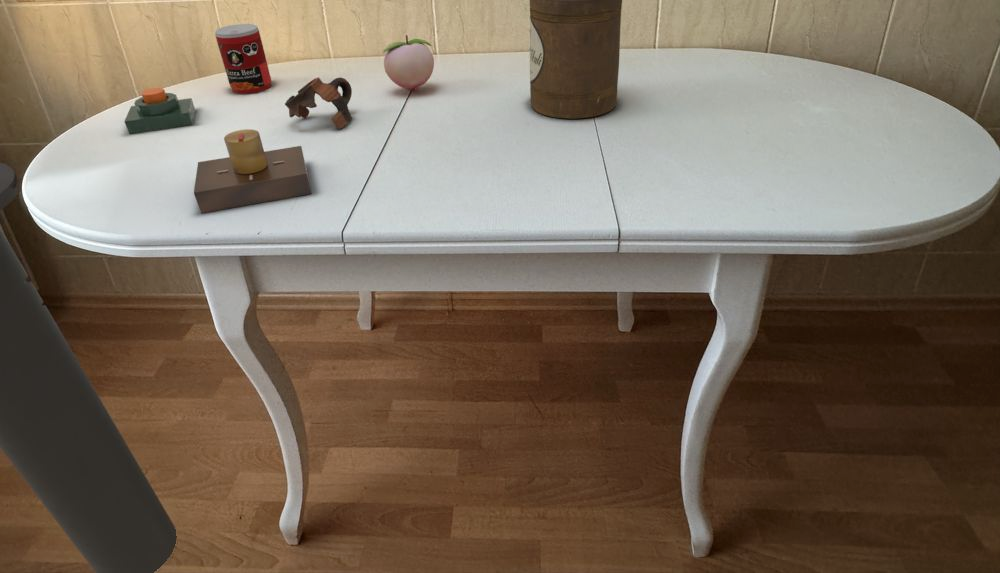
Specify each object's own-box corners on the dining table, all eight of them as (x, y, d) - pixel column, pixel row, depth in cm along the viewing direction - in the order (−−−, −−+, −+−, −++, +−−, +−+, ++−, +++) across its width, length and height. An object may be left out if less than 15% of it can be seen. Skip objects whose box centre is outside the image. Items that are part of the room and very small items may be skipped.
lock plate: (201, 213, 80) (193, 191, 78) (204, 181, 88) (197, 160, 86) (311, 193, 83) (306, 172, 82) (305, 164, 91) (300, 144, 89)
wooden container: (544, 87, 116) (544, -45, 103) (623, 93, 111) (634, -44, 98) (518, 115, 104) (515, -30, 92) (605, 123, 100) (615, -28, 87)
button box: (129, 134, 104) (119, 110, 102) (135, 118, 110) (126, 96, 108) (192, 124, 106) (185, 102, 104) (195, 110, 113) (188, 88, 110)
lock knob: (234, 163, 85) (224, 129, 82) (267, 158, 86) (258, 125, 83) (233, 176, 82) (222, 141, 79) (267, 171, 83) (258, 136, 80)
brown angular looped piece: (332, 139, 100) (296, 96, 96) (304, 152, 107) (270, 112, 103) (375, 98, 106) (343, 56, 102) (346, 112, 113) (315, 74, 109)
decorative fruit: (404, 102, 112) (397, 44, 106) (381, 92, 117) (372, 36, 111) (446, 90, 116) (442, 34, 111) (422, 80, 122) (417, 26, 116)
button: (143, 106, 104) (139, 95, 103) (146, 99, 107) (142, 89, 106) (166, 103, 105) (163, 92, 104) (168, 96, 108) (165, 86, 107)
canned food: (225, 94, 119) (207, 34, 113) (240, 81, 126) (224, 24, 119) (264, 93, 119) (248, 33, 112) (277, 80, 125) (263, 23, 119)
